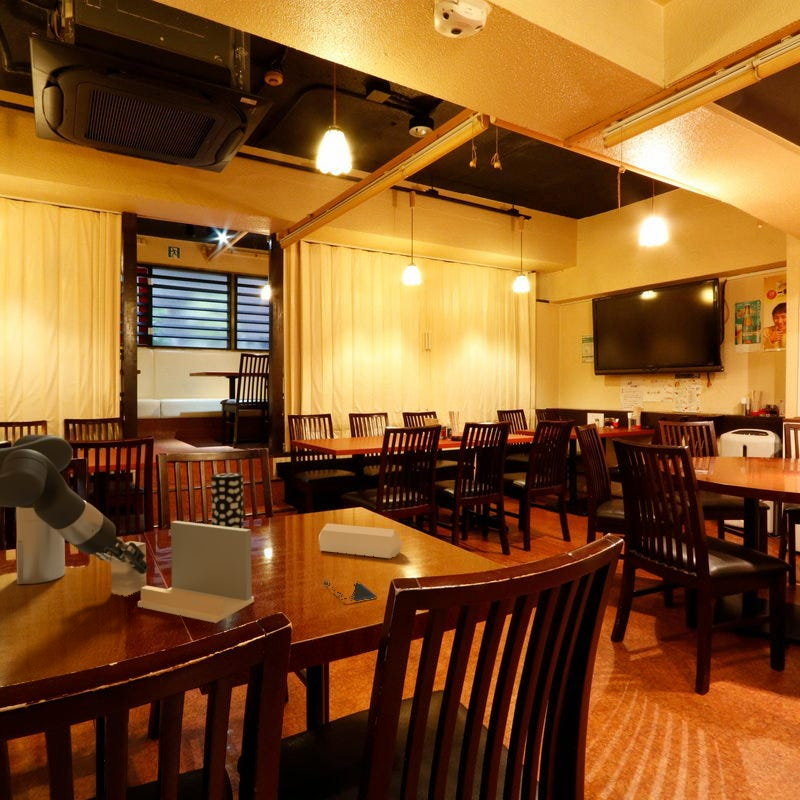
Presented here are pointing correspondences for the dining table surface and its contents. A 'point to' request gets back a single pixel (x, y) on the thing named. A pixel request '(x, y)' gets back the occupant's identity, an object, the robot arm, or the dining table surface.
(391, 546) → the white beveled bar
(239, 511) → the spotted tube
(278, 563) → the dining table surface
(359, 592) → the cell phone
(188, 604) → the cleat board
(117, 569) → the birch block
